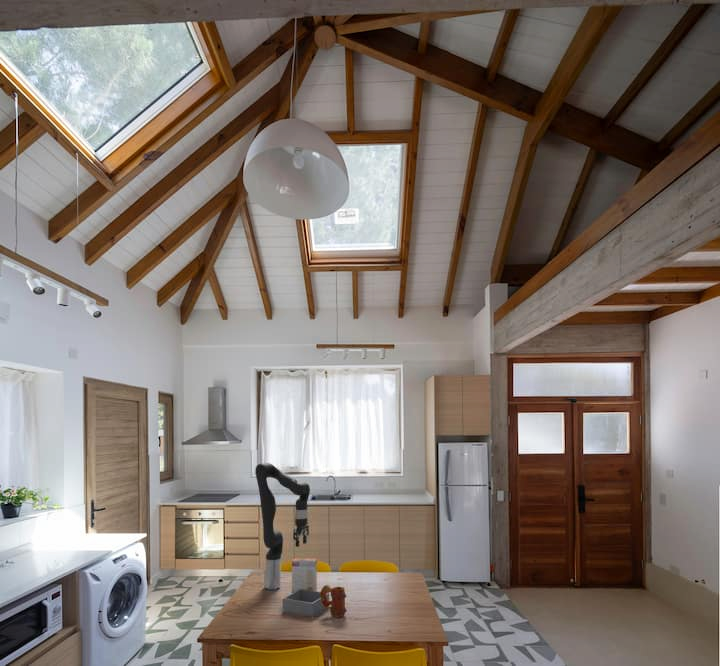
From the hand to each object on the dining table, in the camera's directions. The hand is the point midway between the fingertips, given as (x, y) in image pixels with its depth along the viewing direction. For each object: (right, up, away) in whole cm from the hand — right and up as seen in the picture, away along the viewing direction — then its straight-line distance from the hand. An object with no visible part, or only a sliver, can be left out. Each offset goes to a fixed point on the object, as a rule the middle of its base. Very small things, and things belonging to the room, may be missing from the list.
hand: (301, 545), depth 336 cm
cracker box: (+3, -28, -7) cm, 29 cm away
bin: (+6, -24, -29) cm, 38 cm away
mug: (+21, -23, -38) cm, 49 cm away
